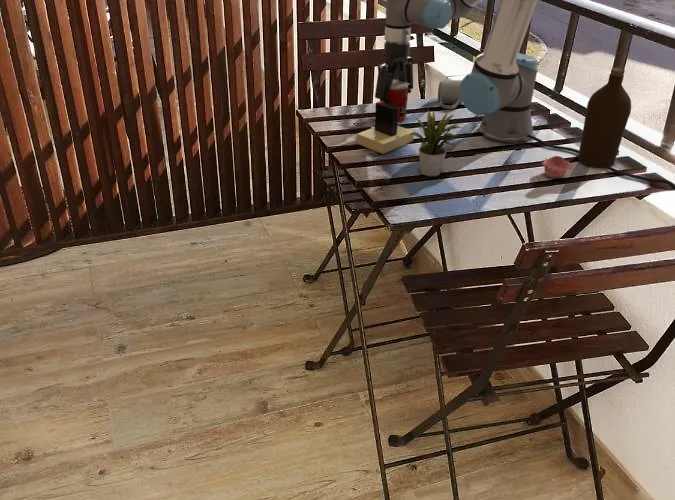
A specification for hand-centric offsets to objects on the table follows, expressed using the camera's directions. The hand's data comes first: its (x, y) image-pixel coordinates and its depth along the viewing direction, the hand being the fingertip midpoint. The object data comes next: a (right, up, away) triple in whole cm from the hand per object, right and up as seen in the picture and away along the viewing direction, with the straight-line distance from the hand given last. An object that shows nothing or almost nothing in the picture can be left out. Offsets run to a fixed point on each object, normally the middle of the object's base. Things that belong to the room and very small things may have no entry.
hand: (393, 116), depth 201 cm
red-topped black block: (-4, -8, -17) cm, 20 cm away
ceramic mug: (+20, +6, +11) cm, 24 cm away
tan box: (-4, -11, -16) cm, 19 cm away
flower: (+39, -23, -33) cm, 56 cm away
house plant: (+7, -22, -33) cm, 40 cm away
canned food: (0, -1, +1) cm, 1 cm away
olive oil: (+53, -18, -25) cm, 61 cm away
